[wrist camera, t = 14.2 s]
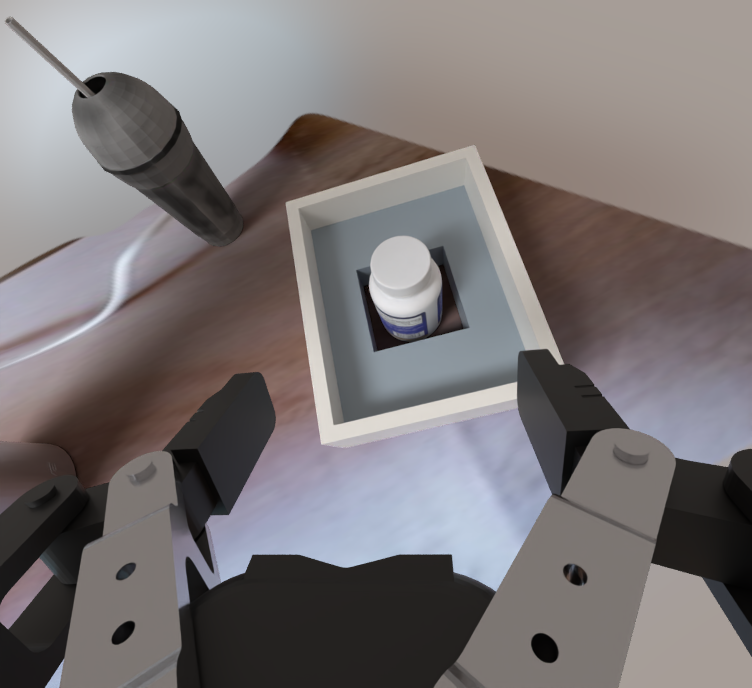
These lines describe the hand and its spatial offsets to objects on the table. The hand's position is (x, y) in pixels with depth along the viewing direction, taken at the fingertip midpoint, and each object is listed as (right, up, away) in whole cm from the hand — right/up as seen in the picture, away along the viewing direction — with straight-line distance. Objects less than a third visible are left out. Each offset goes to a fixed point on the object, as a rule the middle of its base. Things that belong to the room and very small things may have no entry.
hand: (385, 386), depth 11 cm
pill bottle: (+3, +4, +20) cm, 21 cm away
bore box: (+3, +4, +20) cm, 21 cm away
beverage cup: (-16, +14, +27) cm, 35 cm away
